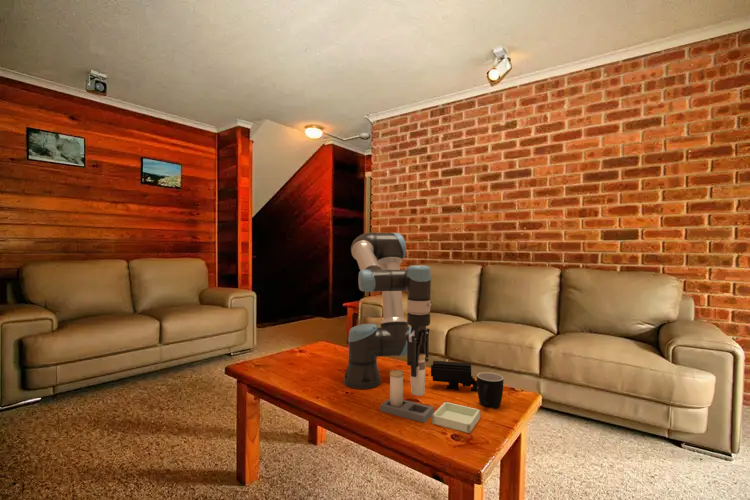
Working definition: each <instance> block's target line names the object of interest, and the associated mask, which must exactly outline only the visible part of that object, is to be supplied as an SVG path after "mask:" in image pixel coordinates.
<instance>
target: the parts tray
mask: <svg viewBox="0 0 750 500" xmlns="http://www.w3.org/2000/svg"><path fill="white" fill-rule="evenodd" d="M480 419H481V409H478V408H473V407H469V406H466V405H462V404H456V403H453V402H448V401H444V402H443V403H442V404H441V405H440V406H439V407H438V408H437V409H436V410H434V413H433V415H432V416H431V424H433V425H436V426H440V427H444V428H447V429H450V430H455V431H458V432H463V433H466V434H471V432H472V431H473V429H474V428H475V427H476V425H477V424H478V422H479V420H480Z"/></svg>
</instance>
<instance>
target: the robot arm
mask: <svg viewBox="0 0 750 500" xmlns="http://www.w3.org/2000/svg"><path fill="white" fill-rule="evenodd" d="M406 250H407V244H406V241H405V238H404V236H403V235H402V234H401V233H399V232H398V233H397V232H364V233H362V234H359V236H357V237H356V238H355V239H354V240H353V241H352V244H351V246H350V252H351V256H352V257H353V258H354V260H356V262H357V265H358V269H359V270H360V271H359V272H358V276H357V278H358V282H357V283H358V289H359V291H361V292H369V293H373V292H375V293H376V292H381V294H382V295H381V296H382V313H383V315H382V316H383V320H382V321H381V322H380V327H378V325H377V324H375V323H362V324H357V325H355V326H353V327H351V328H350V329H349V331H348V339H347V341H348V364H347V367H346V370H345V373H344V378H343V383H344V385H345V386H346V387H348V388H351V389H355V390H369V389H374V388H376V387H378V386H380V385H381V383H382V378H381V377H382V376H381V374H380V373H381V372H380V369H379V367H378V357H379V358H380V357H394V356H395V357H396V356H397V357H401V356H406V358H407V361H406V363H407V366H409V367H410V386H415V387H419V366H418V360H419V353H423V354H425V370H426V369H427V368H426V362H429V355H430V353H429V352H430V351H429V350H430V349H429V348H430V345H429V343H430V329H431V328H427V327H428V326H430V325H431V314H430V312H431V307H432V303H431V287H432V281H431V280H432V272H431V271H432V270H431V267H430V266H428V265H420V264H419V265H417V264H416V265H409V266H408V267H407V268H405V269H401V268H400V267H401V266H400V265H401V264H402V262H403V259H405V258H406V254H407V251H406ZM402 292H407V298H406V299H407V307H406V311H407V312H408V313H407V316H406V318H407V320H406V318H405V317H404V306H403V305H404V304H403V303H404V302H403V293H402Z"/></svg>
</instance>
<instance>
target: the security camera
mask: <svg viewBox="0 0 750 500" xmlns="http://www.w3.org/2000/svg"><path fill="white" fill-rule="evenodd" d="M430 365H431V366H430V377H432V381H433V382H439V383H448V385H447V384H446V390H451V391H459V390H460V388H459V387H460V385H462V386H463V387H469V388H470V392H473V393H474V392H476V393H478V390H477V379H476V378H474V376H473V375H472V364H471V362H460V361H458V362H456V361H444V360H433V361H432V364H430Z"/></svg>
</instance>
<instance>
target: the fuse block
mask: <svg viewBox="0 0 750 500" xmlns="http://www.w3.org/2000/svg"><path fill="white" fill-rule="evenodd" d="M389 379H390V380H389V398H388V399H387V400H385V401H383V402H382V403H381V404H380V406H379V407H380V412H382V413H385V414H386V413H387V414H390V415H393V416H397V417H401V418H404V419H408V420H412V421H415V422H420V423H423V424H426V423H427V421H428V420H429V419H431V418H432V415H433V413H434V412H435V406H431V405H426V404H423V403H419V402H414V401H411V400H406V399H404V371H403V370H401V369H392V370H390V371H389Z"/></svg>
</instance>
